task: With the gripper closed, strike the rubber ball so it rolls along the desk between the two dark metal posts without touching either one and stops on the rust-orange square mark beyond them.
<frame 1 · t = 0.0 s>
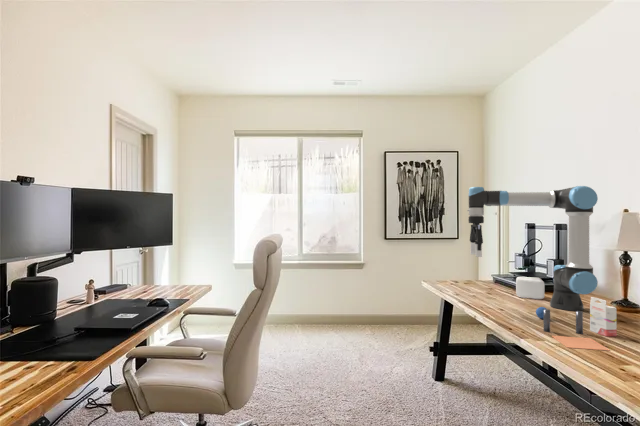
hand: (475, 255, 198), 28 cm above the table, tool pointing down, fingers open, 13 cm apart
ink cartridge box: (603, 334, 156), on the table
cable organizer: (529, 297, 228), on the table
post 1: (546, 331, 158), on the table
ball: (542, 312, 178), on the table
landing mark: (579, 343, 143), on the table
post 2: (579, 333, 156), on the table
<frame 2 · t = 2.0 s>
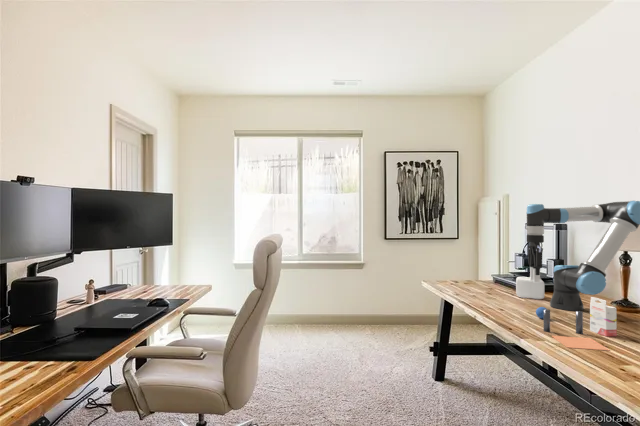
hand: (535, 280, 188), 17 cm above the table, tool pointing down, fingers open, 4 cm apart
nothing on the table moved.
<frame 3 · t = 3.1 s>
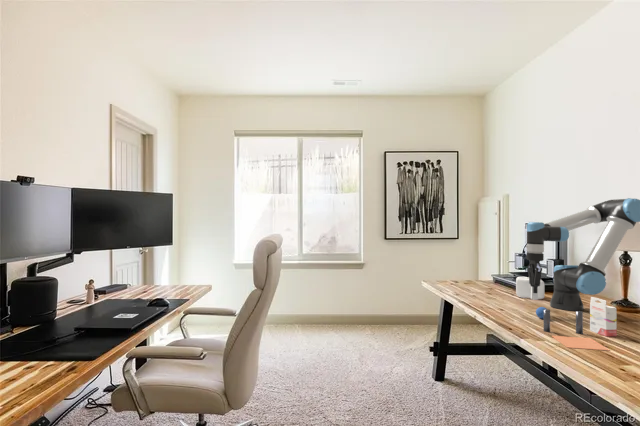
hand: (534, 299, 188), 7 cm above the table, tool pointing down, fingers closed
nothing on the table moved.
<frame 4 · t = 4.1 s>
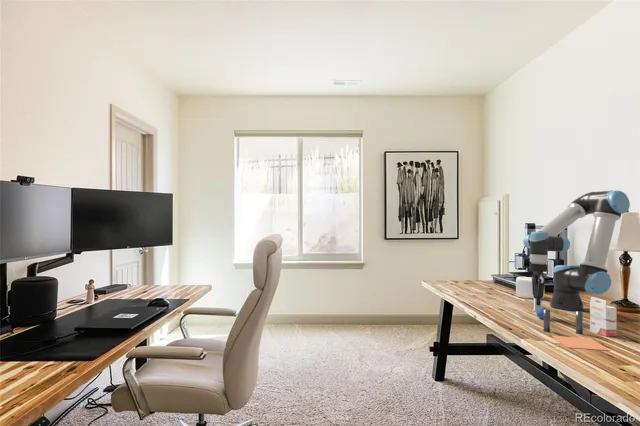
hand: (537, 311, 182), 3 cm above the table, tool pointing down, fingers closed
ball: (542, 313, 178), on the table, touching gripper
everything else where it was.
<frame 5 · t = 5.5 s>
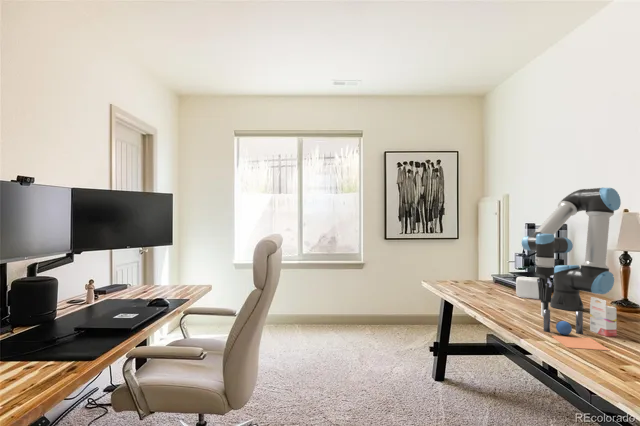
hand: (544, 316, 175), 2 cm above the table, tool pointing down, fingers closed
ball: (563, 327, 154), on the table
everything else where it was.
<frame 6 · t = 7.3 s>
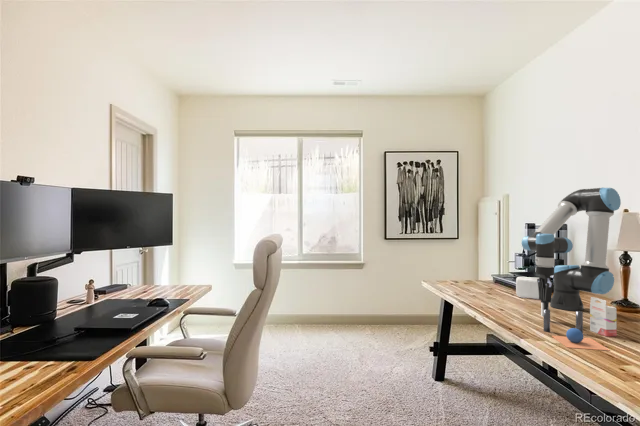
hand: (544, 316, 175), 2 cm above the table, tool pointing down, fingers closed
ball: (574, 335, 144), on the table
everything else where it was.
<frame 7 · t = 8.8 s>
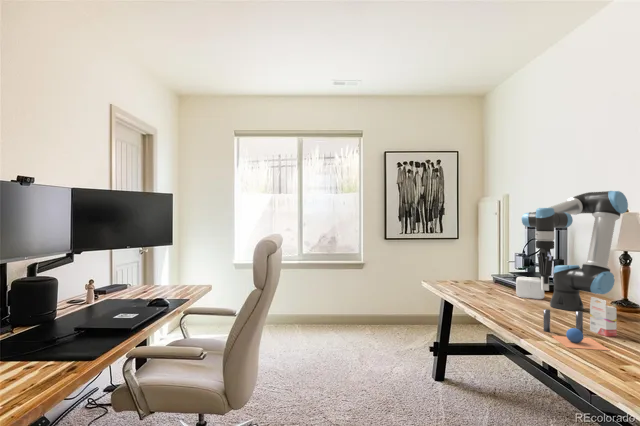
hand: (545, 290, 176), 14 cm above the table, tool pointing down, fingers closed
nothing on the table moved.
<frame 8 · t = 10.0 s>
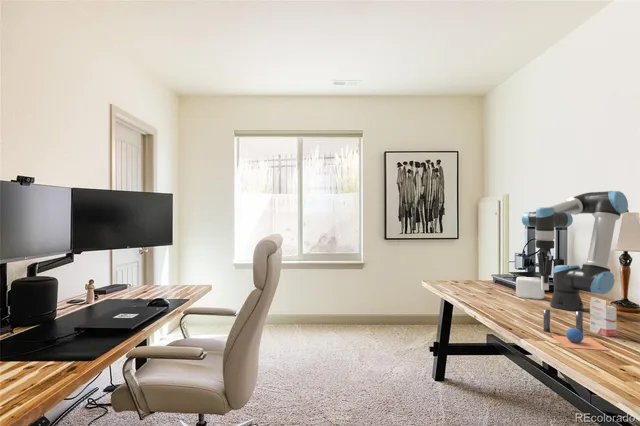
hand: (544, 289, 176), 14 cm above the table, tool pointing down, fingers closed
nothing on the table moved.
at the end: ball 1.5 cm from the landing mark (horizontally); ball never touched post 2; ball never touched post 1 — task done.
